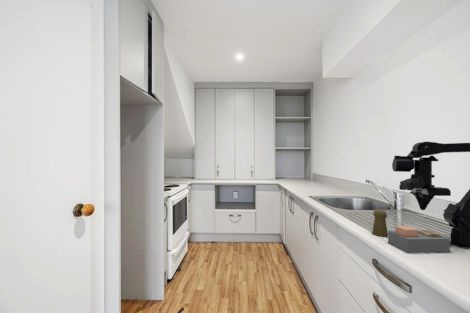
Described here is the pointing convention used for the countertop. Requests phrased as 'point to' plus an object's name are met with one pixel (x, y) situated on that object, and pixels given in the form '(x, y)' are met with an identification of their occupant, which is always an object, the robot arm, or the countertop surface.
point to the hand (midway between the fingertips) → (422, 209)
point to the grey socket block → (419, 243)
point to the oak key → (428, 233)
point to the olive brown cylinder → (380, 223)
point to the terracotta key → (406, 231)
